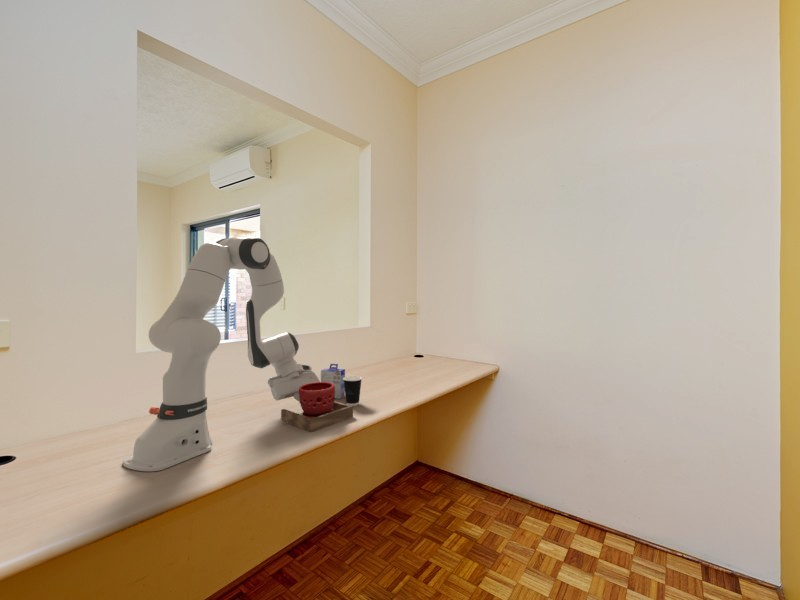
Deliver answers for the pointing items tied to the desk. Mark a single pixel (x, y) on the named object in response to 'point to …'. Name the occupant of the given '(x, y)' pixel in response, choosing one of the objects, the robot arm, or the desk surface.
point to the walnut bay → (319, 422)
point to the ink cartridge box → (334, 379)
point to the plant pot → (317, 398)
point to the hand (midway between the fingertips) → (305, 403)
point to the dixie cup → (352, 389)
